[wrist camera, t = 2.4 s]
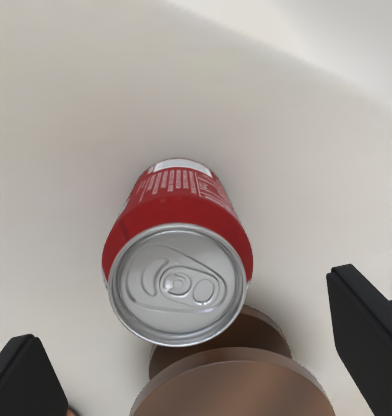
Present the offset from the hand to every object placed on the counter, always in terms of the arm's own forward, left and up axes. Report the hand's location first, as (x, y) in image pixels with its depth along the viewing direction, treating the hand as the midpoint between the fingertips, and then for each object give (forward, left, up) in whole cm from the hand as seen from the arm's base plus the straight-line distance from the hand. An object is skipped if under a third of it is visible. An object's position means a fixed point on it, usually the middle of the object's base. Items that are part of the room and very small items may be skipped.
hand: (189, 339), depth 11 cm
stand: (+11, -10, -15) cm, 21 cm away
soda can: (0, 0, -15) cm, 15 cm away
